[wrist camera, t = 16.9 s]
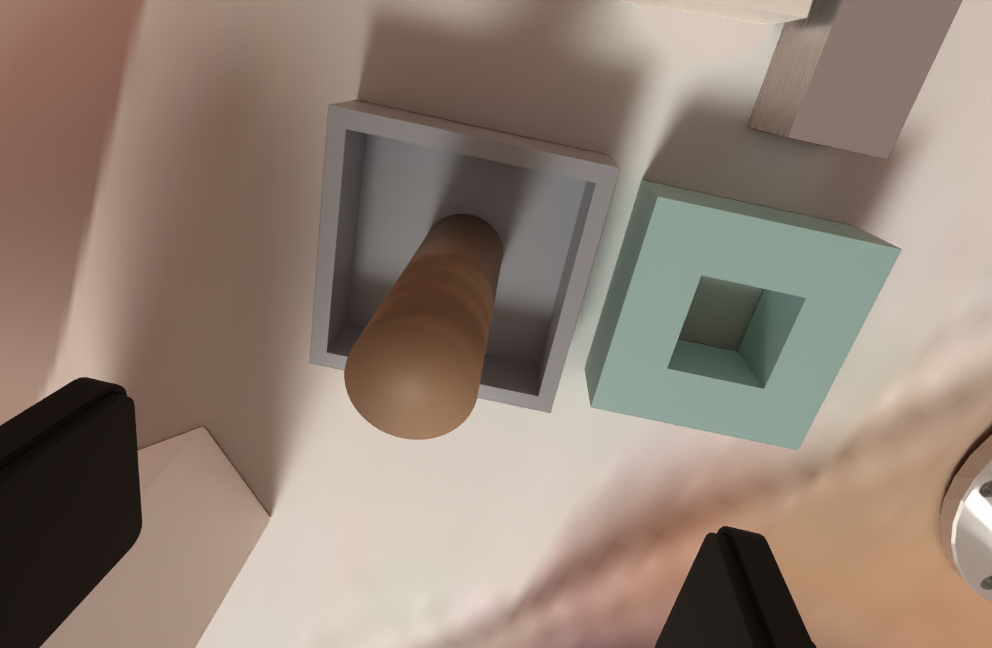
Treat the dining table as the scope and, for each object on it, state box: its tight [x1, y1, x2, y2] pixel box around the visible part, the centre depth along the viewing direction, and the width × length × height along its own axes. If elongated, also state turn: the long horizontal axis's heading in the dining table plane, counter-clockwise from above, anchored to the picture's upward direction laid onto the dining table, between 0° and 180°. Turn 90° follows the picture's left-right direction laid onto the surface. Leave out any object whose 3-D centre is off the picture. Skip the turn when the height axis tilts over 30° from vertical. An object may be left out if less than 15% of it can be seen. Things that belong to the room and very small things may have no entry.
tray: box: [310, 100, 620, 413], centre depth 21 cm, size 9×9×3 cm
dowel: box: [344, 214, 503, 440], centre depth 17 cm, size 3×3×10 cm
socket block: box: [585, 180, 902, 450], centre depth 21 cm, size 8×8×3 cm
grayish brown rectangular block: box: [748, 0, 962, 159], centre depth 17 cm, size 3×6×4 cm, turn 169°
